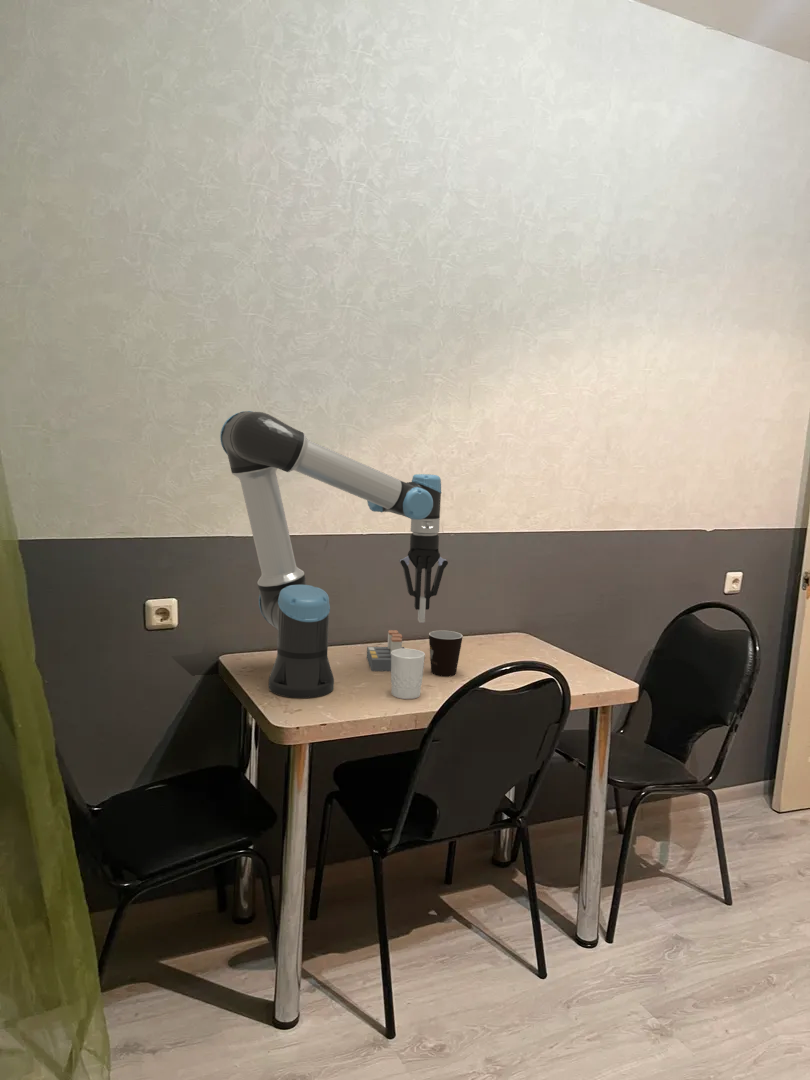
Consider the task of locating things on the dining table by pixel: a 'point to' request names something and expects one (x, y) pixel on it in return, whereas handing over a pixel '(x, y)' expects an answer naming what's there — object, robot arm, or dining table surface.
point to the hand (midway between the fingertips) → (421, 621)
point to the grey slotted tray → (379, 658)
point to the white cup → (406, 673)
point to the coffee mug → (444, 652)
